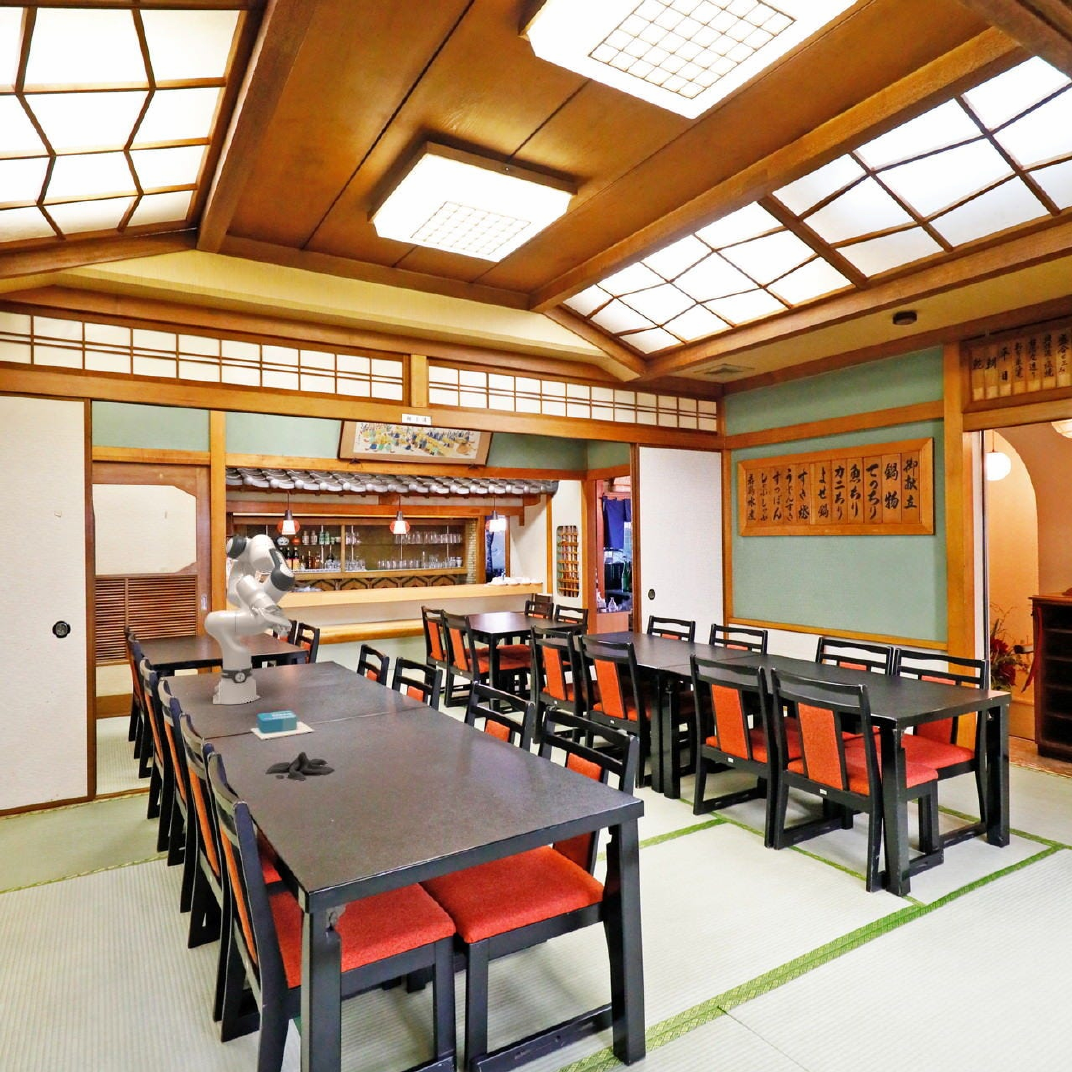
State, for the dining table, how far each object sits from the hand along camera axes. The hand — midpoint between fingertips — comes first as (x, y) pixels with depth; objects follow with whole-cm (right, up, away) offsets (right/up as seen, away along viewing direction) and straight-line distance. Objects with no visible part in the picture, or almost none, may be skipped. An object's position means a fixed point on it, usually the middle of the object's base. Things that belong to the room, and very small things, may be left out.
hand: (284, 636), depth 266 cm
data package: (0, -29, -10) cm, 30 cm away
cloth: (+28, -31, -63) cm, 75 cm away
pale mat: (+6, -31, -18) cm, 36 cm away
